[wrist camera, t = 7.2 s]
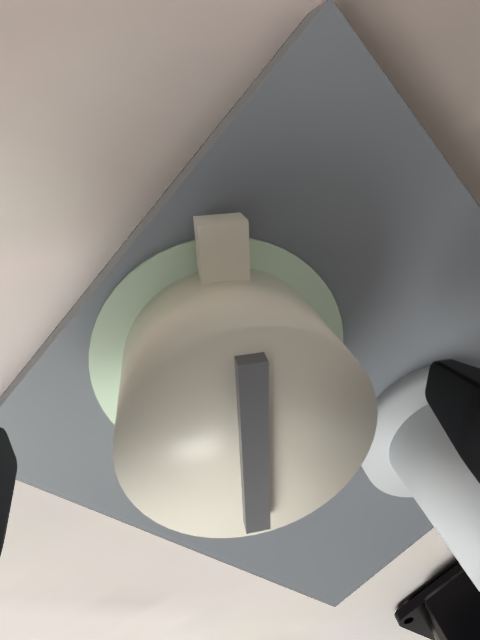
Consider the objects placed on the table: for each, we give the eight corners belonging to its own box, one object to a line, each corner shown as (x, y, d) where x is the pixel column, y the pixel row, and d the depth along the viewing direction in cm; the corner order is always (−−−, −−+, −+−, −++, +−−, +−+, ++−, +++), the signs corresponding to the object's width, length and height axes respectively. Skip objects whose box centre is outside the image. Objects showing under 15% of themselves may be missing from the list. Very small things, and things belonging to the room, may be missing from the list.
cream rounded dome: (315, 455, 12) (366, 558, 9) (146, 485, 12) (144, 609, 9) (328, 204, 9) (413, 243, 6) (93, 223, 8) (62, 279, 5)
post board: (574, 368, 15) (779, 487, 10) (324, 577, 18) (389, 751, 13) (308, 12, 9) (514, -128, 4) (-23, 425, 11) (-155, 657, 6)
